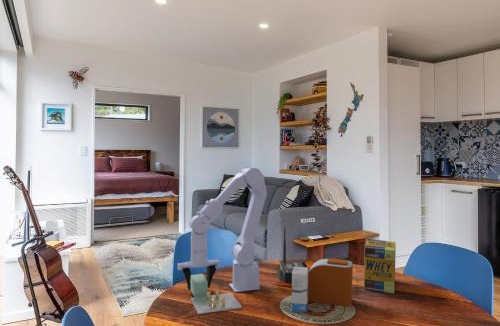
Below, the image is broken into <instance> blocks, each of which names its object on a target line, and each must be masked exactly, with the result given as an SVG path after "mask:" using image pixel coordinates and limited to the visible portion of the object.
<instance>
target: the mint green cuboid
mask: <svg viewBox="0 0 500 326" xmlns="http://www.w3.org/2000/svg"><path fill="white" fill-rule="evenodd" d="M190 283H191V290H190V291H191V293H192V295H193V298H194V297H202V296H207V291H209V288H208V282H207V277H205V274H204V273H198V274H191V280H190Z"/></svg>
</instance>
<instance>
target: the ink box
mask: <svg viewBox="0 0 500 326" xmlns="http://www.w3.org/2000/svg"><path fill="white" fill-rule="evenodd" d="M308 268H309V267H308ZM308 268H306V267H296V266H295V267H294V268H293V271H292V282H291V311H292V312H295V313H296V312H298V313H308V304H309V302H308Z"/></svg>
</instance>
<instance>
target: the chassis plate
mask: <svg viewBox="0 0 500 326" xmlns="http://www.w3.org/2000/svg"><path fill="white" fill-rule="evenodd" d="M222 297H225V306H221V298H222ZM213 298H215V299H216V307H212V299H213ZM190 301H191V302H192V305H193V307H194V309H195V311H196V313H197V314H198V315H203V314H210V313H211V314H212V313H216V312H217V313H218V312H223V311H231V310H232V311H233V310H238V309H242V308H243V305H241V303H240V302H239V301H238V299H237V298H236V297H235V296H234V295H233V294H232V293H231V292H226V293H221V294H220V293H219V298H216V294H212V295H211V294H210V299H207V296H202V297H194V296H193V297H190Z"/></svg>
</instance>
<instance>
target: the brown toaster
mask: <svg viewBox="0 0 500 326" xmlns="http://www.w3.org/2000/svg"><path fill="white" fill-rule="evenodd" d="M353 269H354V268H353V262H352V261H350V260H348V259H340V258H339V259H338V258H321V259H318V260H317V261H315V262H314V263H313V264H312V265H311V267H310V268H309V272H308V303H309V302H310V303H316V304H322V305H323V304H324V305H330V306H339V307H345V308H346V307H348V308H349V307H351V306H352V303H353Z"/></svg>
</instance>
